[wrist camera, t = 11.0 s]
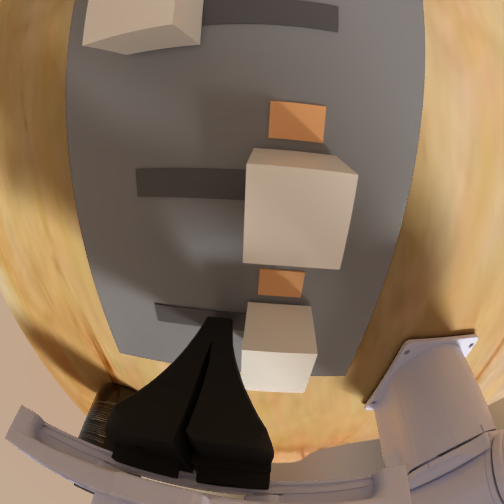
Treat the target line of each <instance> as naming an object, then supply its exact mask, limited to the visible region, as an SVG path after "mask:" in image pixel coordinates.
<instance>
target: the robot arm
mask: <svg viewBox="0 0 504 504" xmlns="http://www.w3.org/2000/svg"><path fill="white" fill-rule="evenodd" d="M477 340H478V336H477V334H470V335H461V336H451V337H440V338H427V339H411V340H407V341H406V342H404V344H403V345H402V347H401V349H400V350H399V352H398V354H397V356H396V357H395V359H394V361H393V363H392V364H391V366H390V368H389V369H388V371H387V372H386V374H385V376H384V377H383V379H382V380H381V382H380V384H379V385H378V387H377V388H376V390H375V391H374V393H373V394H372V396H371V397H370V399H369V400H368V401H367V403H366V404H365V410H374V412H375V416H376V421H377V427H378V432H379V437H380V443H381V448H382V455H383V460H384V463H385V465H386V467H387V468H383V469H380V470H377V471H376V472H374V473H373V474H371V475H365V476H358V477H351V478H343V479H332V480H319V481H301V482H300V481H296V482H275V481H274V482H273V481H270V472H271V463H272V460H273V458H274V450H273V446H272V443H271V440H270V437H269V435H268V432H267V429H266V428H265V426H264V424H263V423H262V421H261V420H260V418H259V416H258V414H257V412H256V411H255V409H254V407H253V405H252V403H251V400H250V398H249V396H248V394H247V392H246V389H245V387H244V384H243V381H242V379H241V376H240V373H239V369H238V366H237V362H236V358H235V353H234V348H233V320H232V319H230V318H220V317H210V316H208V317H207V318H206V320H205V321H204V323H203V325H202V326H201V328H200V329H199V331H198V332H197V334H196V335H195V336H194V338H193V339H192V340H191V342H190V343H189V344H188V346H187V347H186V348H185V349H184V350H183V352H182V353H181V354H180V355H179V356H178V357H177V358H176V359H175V361H174V362H173V363H172V364H171V365H170V366H169V367H168V368H166V369H165V370H164V371H163V372H162V373H161V374H160V375H159V376H157V377H156V378H155V379H154V380H153V381H151V382H150V383H149V384H148V385H146V386H145V387H143V388H142V389H140V390H139V391H137V392H136V393H134V394H133V395H131V396H129V397H128V398H126V399H124V400H122V401H120V402H119V403H117V404H115V405H114V407H113V408H112V410H111V412H110V414H109V416H108V418H107V421H106V423H105V426H104V431H105V433H106V434H107V435H108V437H109V438H110V439H111V440H112V441H113V442H114V443H115V447H114V450H113V452H112V451H109V450H106V449H103V448H101V447H98V446H96V445H93V444H91V443H88V442H86V441H84V440H81V439H79V438H77V437H74V436H72V435H70V434H68V433H66V432H64V431H62V430H59V429H58V428H56V427H53V426H52V425H50V424H48V423H46V422H44V420H43V419H42V418H41V417H40V416H39V415H38V414H36V413H35V412H33V411H31V410H30V409H28V408H26V407H24V406H21V407H20V409H19V411H18V413H17V415H16V416H15V419H14V421H13V422H12V425H11V426H10V428H9V431H8V433H7V435H6V437H5V438H6V439H7V440H8V441H9V442H10V443H12V444H13V445H14V446H16V447H17V448H18V449H19V450H21V451H22V452H23V453H25V454H26V455H27V456H29V457H30V458H32V459H33V460H35V461H36V462H38V463H40V464H41V465H43V466H45V467H46V468H48V469H50V470H51V471H53V472H55V473H57V474H58V475H60V476H62V477H64V478H66V479H67V480H70V481H71V482H73V483H75V484H77V485H79V486H81V487H83V488H85V489H87V490H90V491H92V492H94V496H93V499H92V503H91V504H504V429H500V430H496V428H495V425H494V422H493V419H492V417H491V414H490V412H489V409H488V407H487V404H486V402H485V399H484V397H483V394H482V392H481V390H480V388H479V385H478V383H477V381H476V379H475V377H474V374H473V372H472V370H471V368H470V366H469V364H468V362H467V360H466V357H467V355H468V354H469V352H470V351H471V349H472V348H473V346H474V345H475V343H476V342H477ZM123 470H124V471H123ZM125 471H127V472H130V473H133V474H136V475H140V476H143V477H147V478H150V479H154V480H158V481H162V482H166V483H170V484H174V485H179V486H184V487H188V488H194V489H200V490H206V491H212V492H220V493H228V494H238V495H246V496H245V497H244V500H242V499H234V498H228V497H221V496H216V495H210V494H205V493H200V492H196V491H192V490H189V489H184V488H180V487H176V486H170V485H167V484H163V483H159V482H155V481H151V480H148V479H144V478H141V477H138V476H134V475H131V474H128V473H127V472H125Z"/></svg>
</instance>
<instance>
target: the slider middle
mask: <svg viewBox="0 0 504 504" xmlns="http://www.w3.org/2000/svg"><path fill="white" fill-rule="evenodd" d="M357 182H358V174H357V173H356V172H355V171H353V170H352V169H351V168H350V167H349V166H348V165H346V164H345V163H344V162H343V161H341V160H340V159H339V158H338V157H337V156H335V155H327V154H319V153H310V152H300V151H290V150H278V149H264V148H254V149H253V151H252V153H251V155H250V157H249V159H248V161H247V164H246V187H245V213H244V241H243V263H251V264H265V265H278V266H292V267H307V268H321V269H336V270H340V266H341V262H342V258H343V254H344V249H345V245H346V240H347V235H348V230H349V226H350V221H351V215H352V210H353V205H354V199H355V194H356V188H357Z"/></svg>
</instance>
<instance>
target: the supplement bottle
mask: <svg viewBox="0 0 504 504" xmlns="http://www.w3.org/2000/svg"><path fill="white" fill-rule="evenodd" d="M134 393H136V392H135V391H133V390H131V389H129V388H126V387H123V386H120V385H115V384H106V385H103V386H101V387H100V388H99V390H98V392H97V394H96V396H95V398H94V401H93V403H92V405H91V408H90V410H89V412H88V415H87V417H86V420H85V422H84V425H83V427H82V430H81V432H80V435H79V437H78V438H79V439H81V440H84V441H86V442H88V443H91V444H93V445H96V446H98V447H101V448H103V449H106V450H109V451H112V452H113V450H114V447H115V443H114V442H113V441H112V440H111V439H110V438H109V437H108V435H107V434H106V433H105V431H104V426H105V423H106V421H107V418H108V416H109V414H110V412H111V410H112V408H113V407H114V405H115V404H117V403H119V402H120V401H122V400H124V399H126V398H128V397H129V396H131V395H133V394H134ZM123 471H124V470H123ZM125 472H127V471H125ZM127 473H128V474H131V475H134V476H138V477H141V476H140V475H136V474H133V473H130V472H127ZM74 485H75V486H77V487H79V488H81V489H83V490H85V491H87V492H89V493H91V494H94V492H92V491H90V490H87V489H85V488H83V487H81V486H79V485H77V484H75V483H74Z"/></svg>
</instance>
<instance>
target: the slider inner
mask: <svg viewBox="0 0 504 504" xmlns="http://www.w3.org/2000/svg"><path fill="white" fill-rule="evenodd" d="M317 354H318V353H317V345H316V337H315V330H314V323H313V316H312V309H311V306H302V305H285V304H270V303H256V302H248V306H247V313H246V321H245V329H244V337H243V344H242V359H241V379H242V381H243V384H244V387H245V389H246V390H253V391H268V392H290V393H304V392H305V389H306V386H307V384H308V381H309V378H310V375H311V372H312V369H313V366H314V363H315V360H316V357H317Z"/></svg>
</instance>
